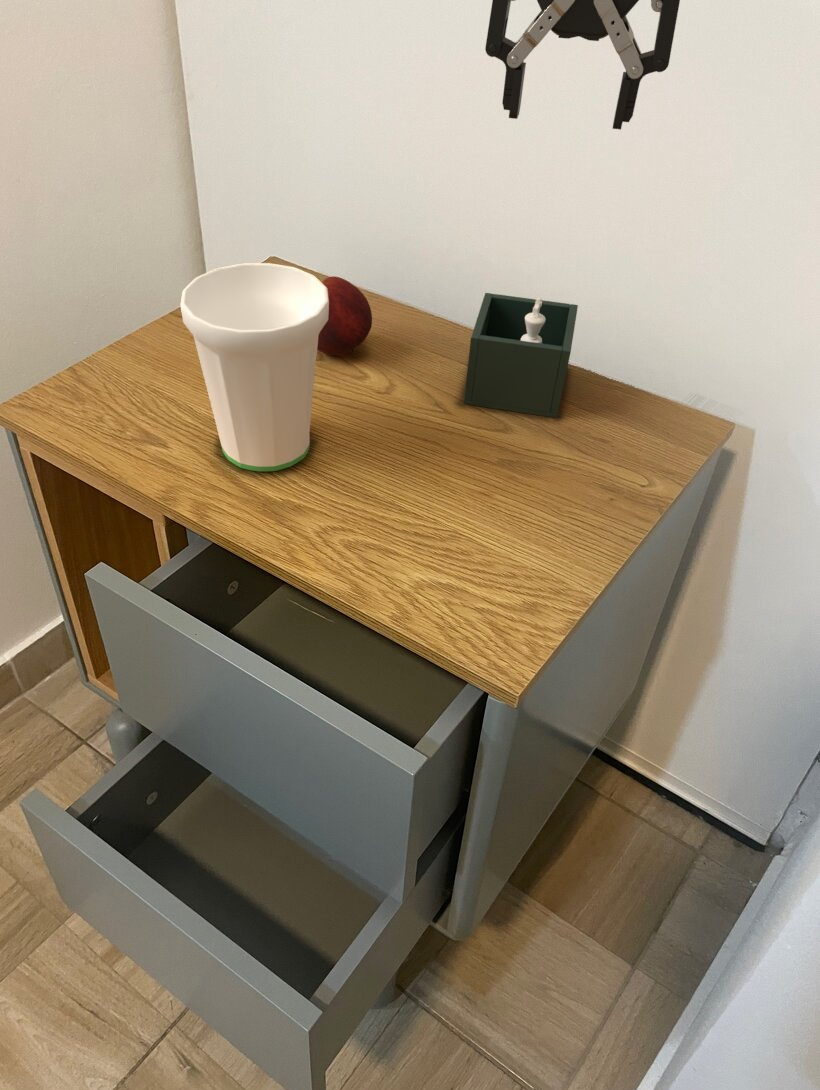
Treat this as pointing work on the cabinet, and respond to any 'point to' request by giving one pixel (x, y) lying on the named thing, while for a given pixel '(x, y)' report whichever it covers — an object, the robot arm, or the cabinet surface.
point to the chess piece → (534, 324)
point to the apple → (344, 318)
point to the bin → (519, 356)
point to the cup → (258, 357)
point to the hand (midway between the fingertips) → (565, 121)
